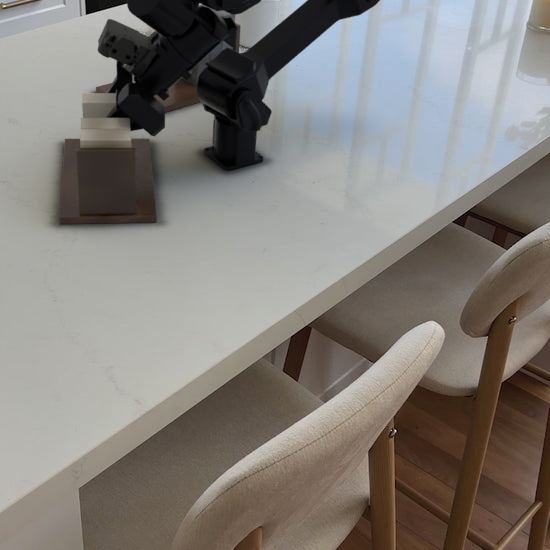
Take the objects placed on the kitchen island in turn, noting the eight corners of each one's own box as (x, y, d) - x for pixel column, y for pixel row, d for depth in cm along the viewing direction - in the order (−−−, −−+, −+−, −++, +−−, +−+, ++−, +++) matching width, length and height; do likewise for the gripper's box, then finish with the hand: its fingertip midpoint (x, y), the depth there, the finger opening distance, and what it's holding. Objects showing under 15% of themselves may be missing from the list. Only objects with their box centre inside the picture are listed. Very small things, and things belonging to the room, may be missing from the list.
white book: (130, 160, 123) (128, 93, 117) (130, 170, 121) (129, 102, 115) (85, 160, 122) (82, 92, 116) (85, 171, 120) (82, 102, 114)
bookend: (248, 87, 149) (253, 17, 142) (140, 120, 136) (139, 44, 129) (203, 63, 156) (205, -5, 149) (95, 92, 142) (92, 19, 136)
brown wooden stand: (149, 144, 129) (149, 73, 123) (156, 222, 112) (156, 144, 106) (65, 144, 127) (60, 72, 121) (59, 224, 110) (53, 144, 104)
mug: (207, 38, 166) (209, -17, 160) (228, 26, 172) (231, -28, 166) (265, 53, 162) (269, -3, 156) (284, 39, 168) (289, -15, 162)
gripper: (134, -24, 116) (54, 55, 121) (135, 33, 102) (45, 119, 107) (193, 35, 122) (115, 107, 127) (202, 96, 108) (114, 175, 113)
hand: (97, 124), depth 118 cm, fingers open, 6 cm apart
